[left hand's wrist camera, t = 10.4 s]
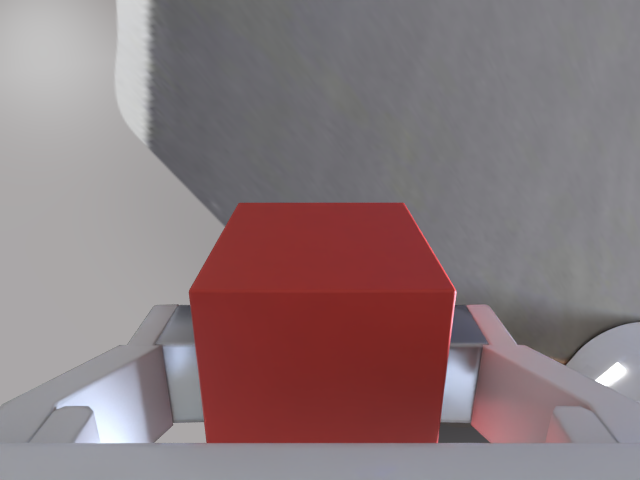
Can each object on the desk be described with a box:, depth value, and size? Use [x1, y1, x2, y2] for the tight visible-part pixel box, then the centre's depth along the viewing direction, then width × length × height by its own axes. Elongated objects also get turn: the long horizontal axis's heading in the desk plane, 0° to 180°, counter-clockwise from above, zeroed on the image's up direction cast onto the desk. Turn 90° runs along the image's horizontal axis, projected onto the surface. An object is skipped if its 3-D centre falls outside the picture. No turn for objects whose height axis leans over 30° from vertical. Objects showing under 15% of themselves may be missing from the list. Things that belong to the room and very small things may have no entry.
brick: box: [189, 203, 456, 443], centre depth 10 cm, size 4×4×5 cm
